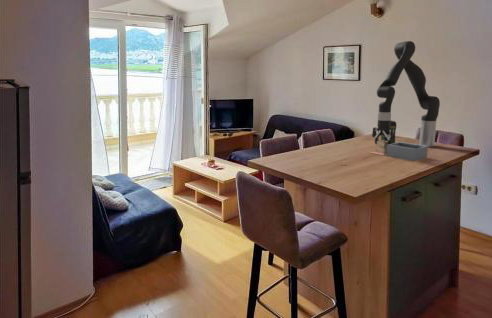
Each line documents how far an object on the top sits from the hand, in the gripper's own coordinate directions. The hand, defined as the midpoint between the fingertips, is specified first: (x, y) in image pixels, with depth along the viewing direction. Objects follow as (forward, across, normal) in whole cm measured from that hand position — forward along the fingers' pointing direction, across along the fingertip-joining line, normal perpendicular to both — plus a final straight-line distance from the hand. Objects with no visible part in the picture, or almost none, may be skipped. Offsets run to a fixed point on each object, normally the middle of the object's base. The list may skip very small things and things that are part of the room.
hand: (382, 145), depth 256 cm
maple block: (+5, 0, 0) cm, 5 cm away
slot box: (+5, -15, -2) cm, 16 cm away
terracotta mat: (+5, 0, 0) cm, 5 cm away
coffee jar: (+5, +7, -16) cm, 18 cm away
